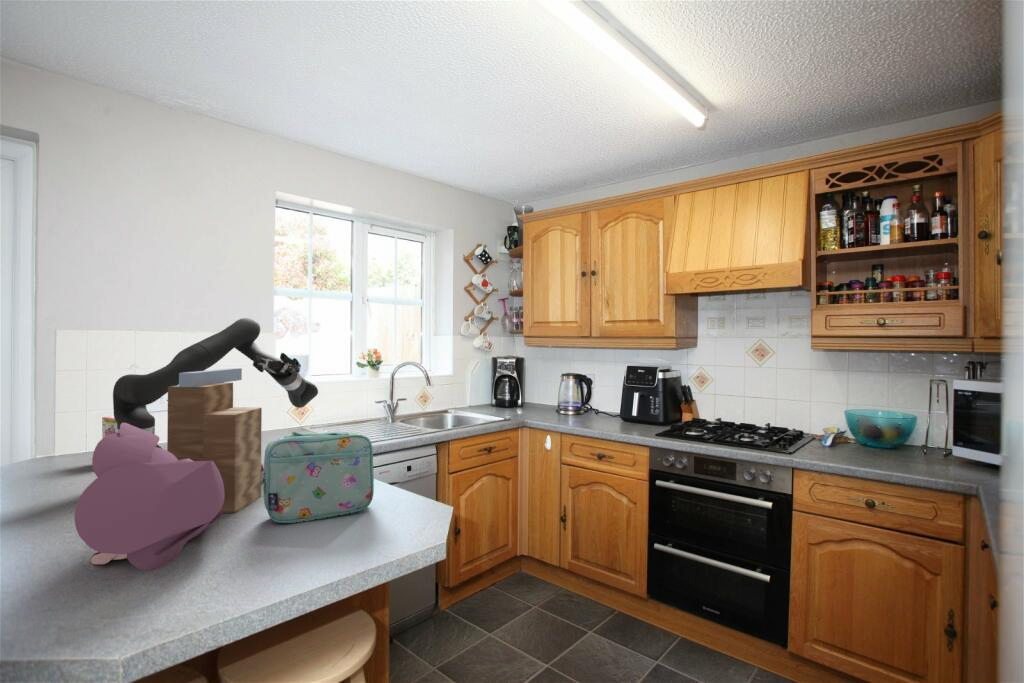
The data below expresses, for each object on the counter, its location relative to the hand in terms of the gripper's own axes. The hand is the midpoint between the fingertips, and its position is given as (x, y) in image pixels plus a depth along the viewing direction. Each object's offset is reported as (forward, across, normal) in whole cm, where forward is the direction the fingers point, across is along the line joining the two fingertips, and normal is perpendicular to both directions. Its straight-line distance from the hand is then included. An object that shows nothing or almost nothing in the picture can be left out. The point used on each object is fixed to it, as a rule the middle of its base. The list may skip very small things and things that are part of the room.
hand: (268, 355), depth 166 cm
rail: (+19, -3, +19) cm, 27 cm away
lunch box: (+15, +31, +53) cm, 63 cm away
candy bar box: (-31, -59, +28) cm, 72 cm away
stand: (+8, +1, +49) cm, 50 cm away
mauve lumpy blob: (+33, +4, +64) cm, 72 cm away
